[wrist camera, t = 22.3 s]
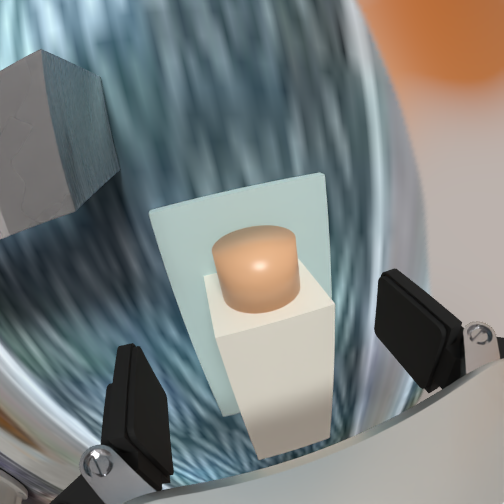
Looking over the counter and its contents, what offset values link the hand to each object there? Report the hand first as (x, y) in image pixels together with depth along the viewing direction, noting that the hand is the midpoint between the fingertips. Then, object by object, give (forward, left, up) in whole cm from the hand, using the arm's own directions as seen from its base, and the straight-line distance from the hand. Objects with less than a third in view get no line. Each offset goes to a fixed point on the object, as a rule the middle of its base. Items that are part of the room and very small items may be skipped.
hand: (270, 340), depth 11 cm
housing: (+9, +9, -4) cm, 13 cm away
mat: (-2, 0, -4) cm, 5 cm away
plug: (-3, 0, -4) cm, 5 cm away
